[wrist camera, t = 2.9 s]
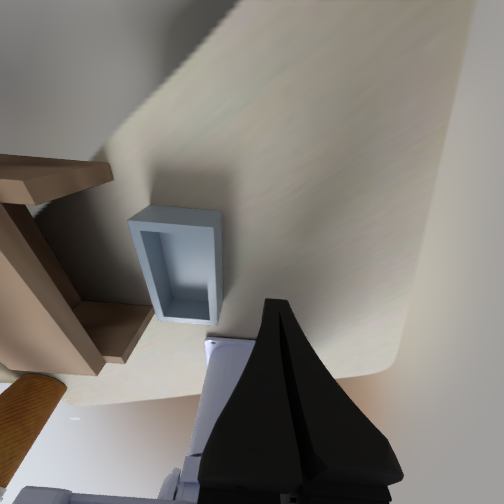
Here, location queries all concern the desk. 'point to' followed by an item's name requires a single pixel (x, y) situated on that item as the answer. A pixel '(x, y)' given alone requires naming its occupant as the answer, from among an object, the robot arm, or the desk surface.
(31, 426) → the disposable coffee cup
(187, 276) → the grey tray
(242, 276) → the desk surface
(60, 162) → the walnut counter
